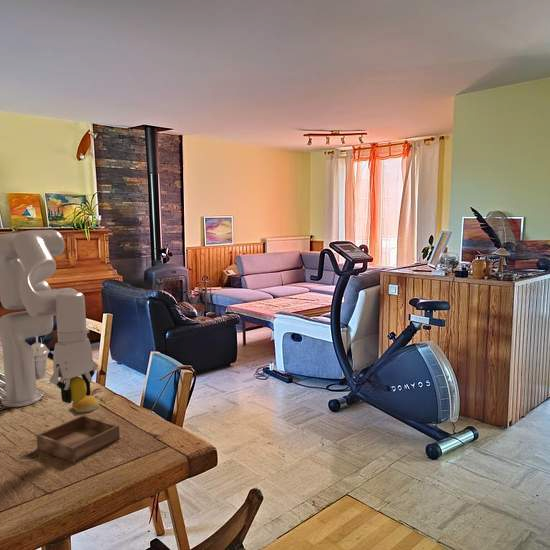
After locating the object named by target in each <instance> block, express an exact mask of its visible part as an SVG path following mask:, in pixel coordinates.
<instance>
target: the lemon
mask: <svg viewBox="0 0 550 550" xmlns="http://www.w3.org/2000/svg"><path fill="white" fill-rule="evenodd" d="M68 389H70V390H71V402H75V403H78V402H79V401H80V400H82V399H83V398H84V397H85V395H86V392H87V387H86V383H85V381H84V379H83V378H82V377H81V376H77V377H74V378H71V380H70V384H69V388H68Z"/></svg>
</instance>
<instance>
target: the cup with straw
mask: <svg viewBox="0 0 550 550" xmlns="http://www.w3.org/2000/svg"><path fill="white" fill-rule="evenodd" d="M30 346H31V347H32V349H33V351H34V361H35V375H36V379H41V378H44V377H47V366H48V365H47V363H48V355H49V353H50V348H48V347H47V346H46V344H44V343H43V342H39V336H37V337H35V343H33V344H31V345H30Z"/></svg>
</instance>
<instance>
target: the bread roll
mask: <svg viewBox="0 0 550 550" xmlns="http://www.w3.org/2000/svg"><path fill="white" fill-rule="evenodd" d="M71 406H72V408H73V410H75V412H76V413H89V412H92V411H95V410H97V409H98V408H99V407H100V401H99V400H98V399H97V398H96V397H95V396H93V395H91V394H90V395H89V396H87V395H85V397H84V398H83V399H82V400H80V401H79V402H78V403H75V402H74V401H72V405H71Z"/></svg>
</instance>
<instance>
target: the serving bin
mask: <svg viewBox="0 0 550 550" xmlns="http://www.w3.org/2000/svg"><path fill="white" fill-rule="evenodd" d="M120 435H121V434H120V425H118V424H114V423H111V422H107V421H104V420H101V419H98V418H95V417H92V416H89V415H86V414H83V415H80V416H77V417H75V418H73V419H70V420H69V421H66V422H64V423H62V424H60V425H57V426H54V427H52V428H50V429H48V430H46V431H44V432H41V433H38V434H36V446H37V447H36V448H37V449H38V450H40V451H42V452H45V453H48V454H50V455H53V456H54V457H55V456H56V457H58V458H61V459H62V460H65V461H68V462H71V463H74V464H75V463H77V462H78V461H80V460H82V459H85V458H86V457H88V456H90V455H91V454H93V453H96V452H98V451H100V450H101V449H103V448H105V447H107V446H108V445H111V444H112V443H114V442H117V441H119V440H120Z"/></svg>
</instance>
